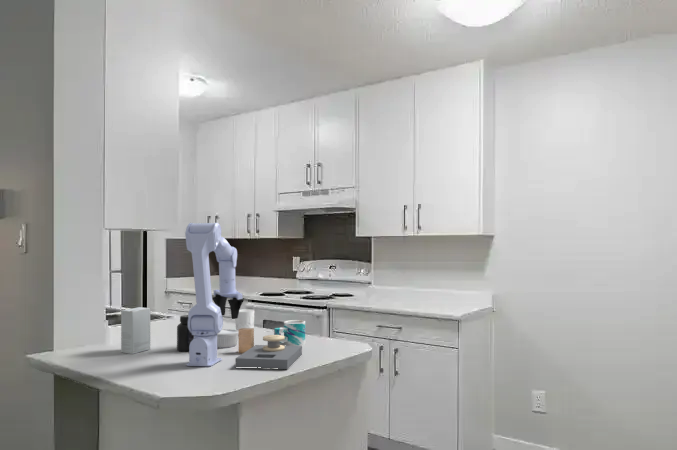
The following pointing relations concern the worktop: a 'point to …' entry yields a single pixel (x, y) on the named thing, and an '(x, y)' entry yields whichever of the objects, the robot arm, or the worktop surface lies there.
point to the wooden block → (245, 339)
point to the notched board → (270, 354)
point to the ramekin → (227, 338)
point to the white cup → (245, 319)
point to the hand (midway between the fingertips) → (228, 317)
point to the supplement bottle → (183, 335)
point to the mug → (292, 333)
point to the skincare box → (135, 330)
